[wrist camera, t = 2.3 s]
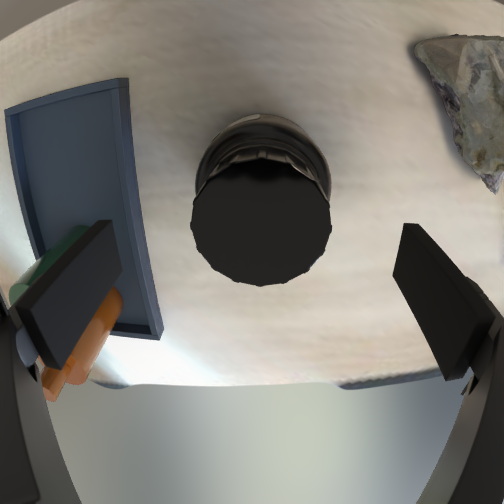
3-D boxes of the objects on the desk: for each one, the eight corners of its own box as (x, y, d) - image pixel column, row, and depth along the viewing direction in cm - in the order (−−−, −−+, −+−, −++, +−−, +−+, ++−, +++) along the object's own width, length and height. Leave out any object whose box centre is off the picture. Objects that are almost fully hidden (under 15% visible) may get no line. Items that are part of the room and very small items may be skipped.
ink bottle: (229, 95, 23) (195, 101, 12) (334, 129, 24) (385, 164, 13) (198, 203, 27) (156, 282, 17) (294, 232, 28) (308, 323, 18)
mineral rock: (485, 182, 24) (548, 226, 16) (394, 163, 25) (452, 206, 16) (502, 60, 18) (575, 68, 9) (409, 22, 18) (475, 1, 10)
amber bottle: (116, 278, 31) (55, 379, 19) (128, 319, 34) (81, 418, 22) (75, 275, 32) (8, 365, 19) (88, 314, 34) (36, 404, 22)
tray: (16, 106, 23) (3, 109, 21) (128, 77, 22) (118, 77, 20) (69, 318, 36) (62, 328, 34) (164, 328, 35) (159, 340, 33)
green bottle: (104, 224, 28) (20, 316, 16) (115, 273, 31) (51, 374, 19) (60, 225, 29) (-25, 306, 16) (73, 271, 31) (5, 360, 19)
